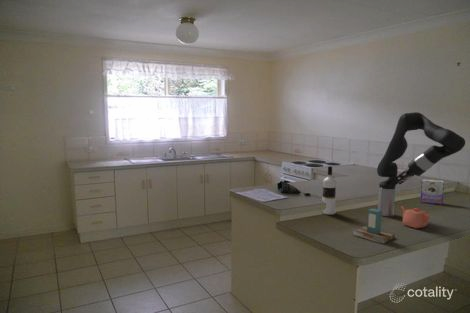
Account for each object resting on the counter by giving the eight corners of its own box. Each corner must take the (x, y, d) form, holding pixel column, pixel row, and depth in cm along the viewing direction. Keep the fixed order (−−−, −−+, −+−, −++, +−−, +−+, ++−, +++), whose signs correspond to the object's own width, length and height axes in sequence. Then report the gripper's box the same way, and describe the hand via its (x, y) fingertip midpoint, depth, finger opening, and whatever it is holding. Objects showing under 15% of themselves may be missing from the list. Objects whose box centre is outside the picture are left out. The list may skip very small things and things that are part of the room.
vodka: (334, 215, 213) (336, 168, 209) (319, 214, 217) (321, 167, 213) (336, 212, 221) (338, 166, 217) (322, 210, 225) (323, 165, 221)
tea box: (371, 230, 180) (372, 208, 179) (380, 232, 177) (381, 210, 175) (366, 232, 177) (367, 210, 175) (376, 235, 173) (377, 212, 172)
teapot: (422, 231, 185) (424, 213, 184) (392, 222, 200) (394, 205, 199) (435, 228, 190) (436, 210, 189) (405, 219, 206) (406, 202, 205)
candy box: (442, 203, 245) (444, 180, 243) (442, 205, 240) (444, 182, 238) (420, 200, 252) (422, 178, 250) (420, 202, 247) (421, 179, 245)
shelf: (364, 229, 188) (365, 224, 187) (394, 237, 176) (394, 231, 175) (352, 235, 179) (353, 229, 178) (383, 243, 167) (383, 237, 167)
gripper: (421, 156, 167) (395, 176, 177) (409, 159, 158) (383, 180, 167) (432, 168, 164) (405, 188, 174) (421, 172, 154) (393, 192, 164)
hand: (394, 184), depth 171 cm, fingers open, 8 cm apart
